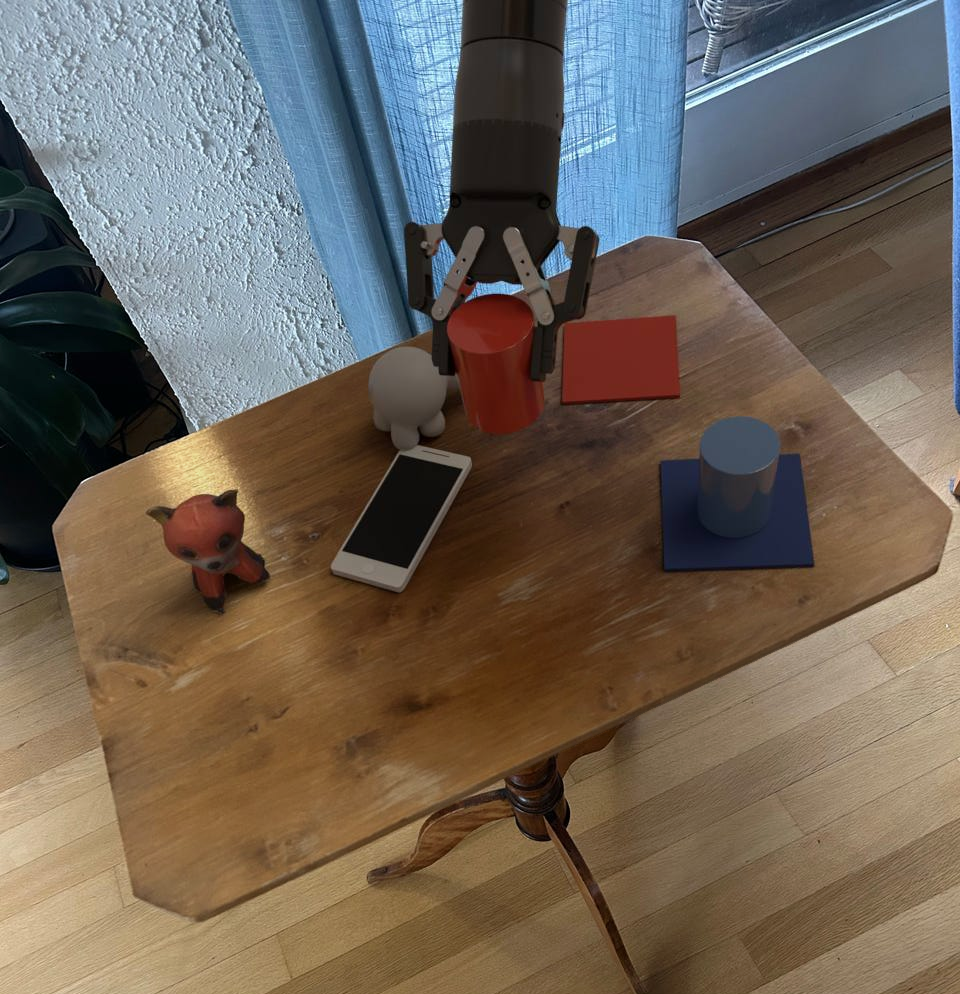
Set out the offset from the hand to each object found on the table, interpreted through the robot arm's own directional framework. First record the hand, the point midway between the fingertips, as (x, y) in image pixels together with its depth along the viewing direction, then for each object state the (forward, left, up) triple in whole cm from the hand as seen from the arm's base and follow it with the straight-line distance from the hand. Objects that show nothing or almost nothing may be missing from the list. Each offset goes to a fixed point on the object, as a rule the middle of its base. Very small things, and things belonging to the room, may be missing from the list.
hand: (492, 377), depth 74 cm
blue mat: (-18, -1, -18) cm, 26 cm away
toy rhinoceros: (+9, -15, -19) cm, 25 cm away
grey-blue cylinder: (-18, -1, -18) cm, 26 cm away
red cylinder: (0, -2, -4) cm, 5 cm away
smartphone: (+11, -2, -18) cm, 22 cm away
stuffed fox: (+26, +3, -19) cm, 32 cm away
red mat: (-9, -21, -18) cm, 29 cm away
